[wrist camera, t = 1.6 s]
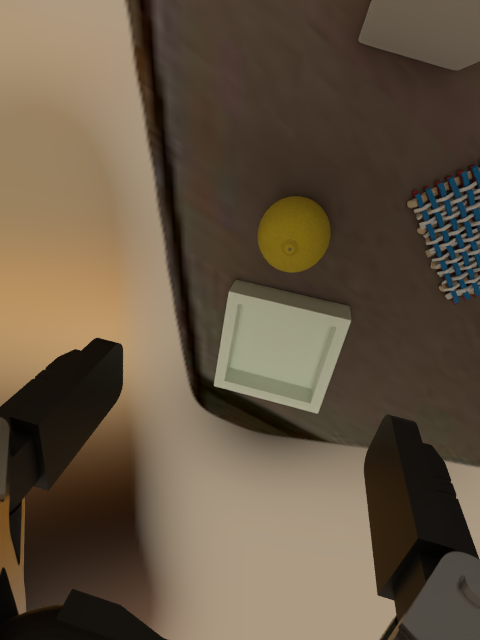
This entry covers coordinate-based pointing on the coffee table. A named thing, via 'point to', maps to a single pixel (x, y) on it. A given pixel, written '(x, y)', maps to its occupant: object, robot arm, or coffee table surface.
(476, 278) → the woven mat
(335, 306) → the tray
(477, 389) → the coffee table surface
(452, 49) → the milk carton
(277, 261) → the lemon
